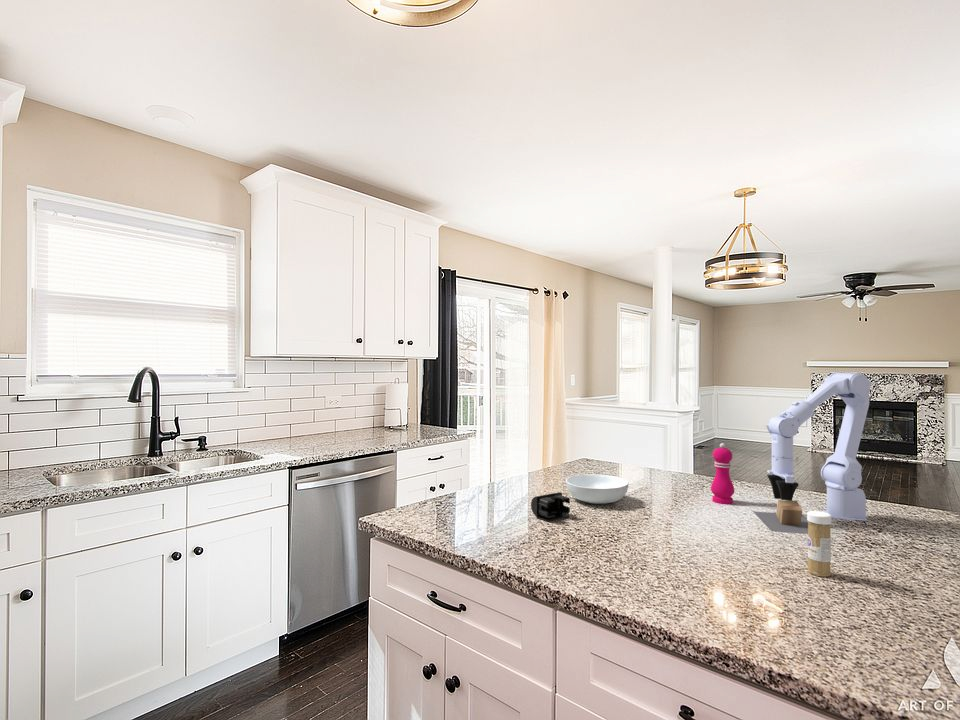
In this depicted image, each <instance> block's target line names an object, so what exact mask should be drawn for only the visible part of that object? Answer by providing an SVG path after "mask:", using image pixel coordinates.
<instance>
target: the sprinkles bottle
mask: <svg viewBox="0 0 960 720" xmlns="http://www.w3.org/2000/svg"><path fill="white" fill-rule="evenodd" d="M806 518H807V520H808V534H807V567H806V570H807V572H808V573H809V574H811V575H813V576H817V577H822V578H823V577H830V576H831V575H832V572H831V561H832V559H831V557H832V555H831V554H832V552H831V551H832V545H831V544H832V538H831V532H832V531H831V526H832V525H831V524H832V518H831V515H830V514H828V513H825V512H822V511H818V510H810V511H809V510H808V512H807V513H806Z"/></svg>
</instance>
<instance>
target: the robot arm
mask: <svg viewBox="0 0 960 720" xmlns="http://www.w3.org/2000/svg"><path fill="white" fill-rule="evenodd" d="M871 386H872V382H871V380H869V379H868V377H867V376H866V375H865V374H864V373H862V372H855V373H853V372H838V371H836V372H832V373H831V374H829V376H827V377H825V378H824V380H823V383H822V384H821V385H820V386H818V388H817V389H816V390H814V391H813V392H812V393H811V394H810V395H809V396H808V397H807V398H806V399H805V400H798V401H793V402H792V403H791V406H790V407H789V408H787V409H786V410H785V411H783V412H781V413H780V415H779V416H773V417H772V418H771V419H770V420H769V421H768V424H767V425H766V429H767V432H768V433H769V436H770V439H771V469H767V470H766V471H767V473H768V474H767V475H766V476H767V478H768V480H769V482H770V485H771V488H772V493H773V498H774V499H777V500H792V501H793V498H794V494H795V492H796V490H797V489H798V488H799V485H800V484H799V483H798V482H795V478H794V477H795V476H794V475H795V472H794V437H795V436H796V435H797V434H798V431H799V428H800V427H801V425H803V424H804V423H805V422H806V421H808V420H809V419H810V418H812V417H813V416H814V415H815V409H816V408H817V407H819V406H820V405H822V404H823V403H824V402H826V401H827V400H829V399H830V398H831V397H833V396H838V398H840V400H841V399H842V402H844V403H845V404H846V406H845V410H844V414H843V417H842V422H841V426H840V429H839V433H838V437H837V442H836V445H835V449H834V450H835V451H834V453H833V454H831V455H830V456H828V457H826V461H825V464H824V465H822V467H821V469H820V477H821V478H822V480H823V481H824V482H825V483H824V484H825V485H826V509H825V510H824V509H822V510H821V512H825V513H828V514H830V515H831V519H834V520H836V519H837V520H848V521H849V520H850V521H861V522H862V521H864V522H865V521H866V522H867V521H868V519H867V499H866V494H865V492H864V490H863V489H862V488H859V487H860V485H861V484H862V481H863V477H862V469H863V467H862V465H861V463H860V462H859V461H858V459H857V455H858V452H859V447H860V443H861V439H862V434H863V431H864V427H865V423H866V418H867V415H868V410H869V408H870V407H869V406H870V390H871Z"/></svg>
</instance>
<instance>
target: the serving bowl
mask: <svg viewBox="0 0 960 720" xmlns="http://www.w3.org/2000/svg"><path fill="white" fill-rule="evenodd" d="M565 485H566V489H567V490H568V492H569V493H570V495H571V496H572V497H574V498H575V499H577V500H580V501H582V502H585V503H588V504H593V505H606V504H609V503H611V504H612V503H614V502H618V501H620V500H621V499H623V498H624V497H625V495H626V494H627V492H628V490H629V485H630V484H629V481H628V480H627V479H625V478H622V477H618V476H615V475H614V476H613V475H609V474H608V475H607V474H600V473H599V474H597V473H590V474H589V473H588V474H587V473H586V474H585V473H584V474H575V475H571V476H568V477H567V478H566V479H565Z"/></svg>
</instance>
